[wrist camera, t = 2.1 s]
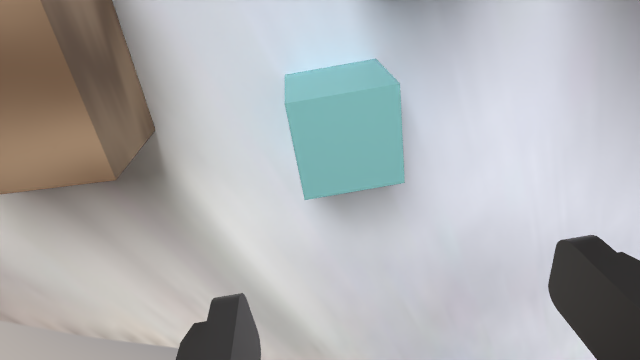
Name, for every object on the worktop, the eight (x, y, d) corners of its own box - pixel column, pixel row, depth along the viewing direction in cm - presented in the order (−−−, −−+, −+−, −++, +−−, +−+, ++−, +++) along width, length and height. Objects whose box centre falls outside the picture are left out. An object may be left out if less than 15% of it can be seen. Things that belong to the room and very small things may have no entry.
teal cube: (284, 74, 21) (284, 103, 16) (375, 58, 21) (399, 83, 16) (301, 156, 23) (304, 200, 19) (381, 141, 23) (404, 182, 19)
